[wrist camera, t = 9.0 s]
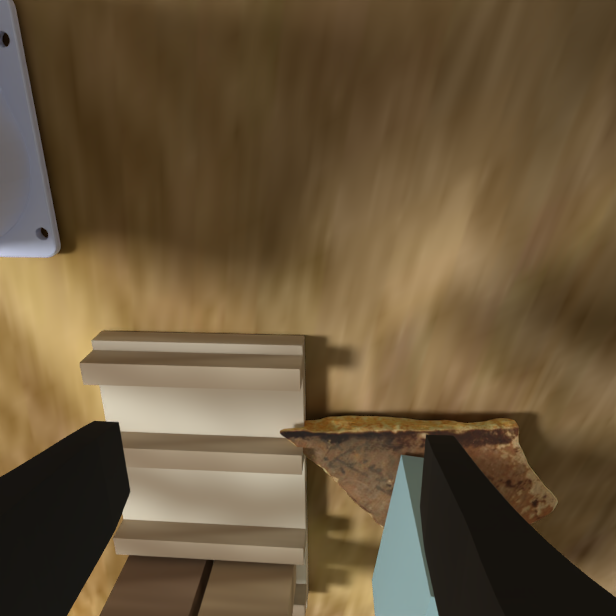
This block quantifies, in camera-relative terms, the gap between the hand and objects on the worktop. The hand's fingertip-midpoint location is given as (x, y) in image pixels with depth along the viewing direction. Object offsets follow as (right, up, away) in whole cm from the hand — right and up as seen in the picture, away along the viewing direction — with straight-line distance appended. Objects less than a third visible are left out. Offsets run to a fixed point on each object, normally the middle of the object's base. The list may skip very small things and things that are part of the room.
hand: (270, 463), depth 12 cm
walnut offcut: (-6, -9, +14) cm, 18 cm away
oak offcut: (-2, -9, +14) cm, 17 cm away
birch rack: (-4, -4, +13) cm, 14 cm away
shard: (+6, -5, +13) cm, 15 cm away
